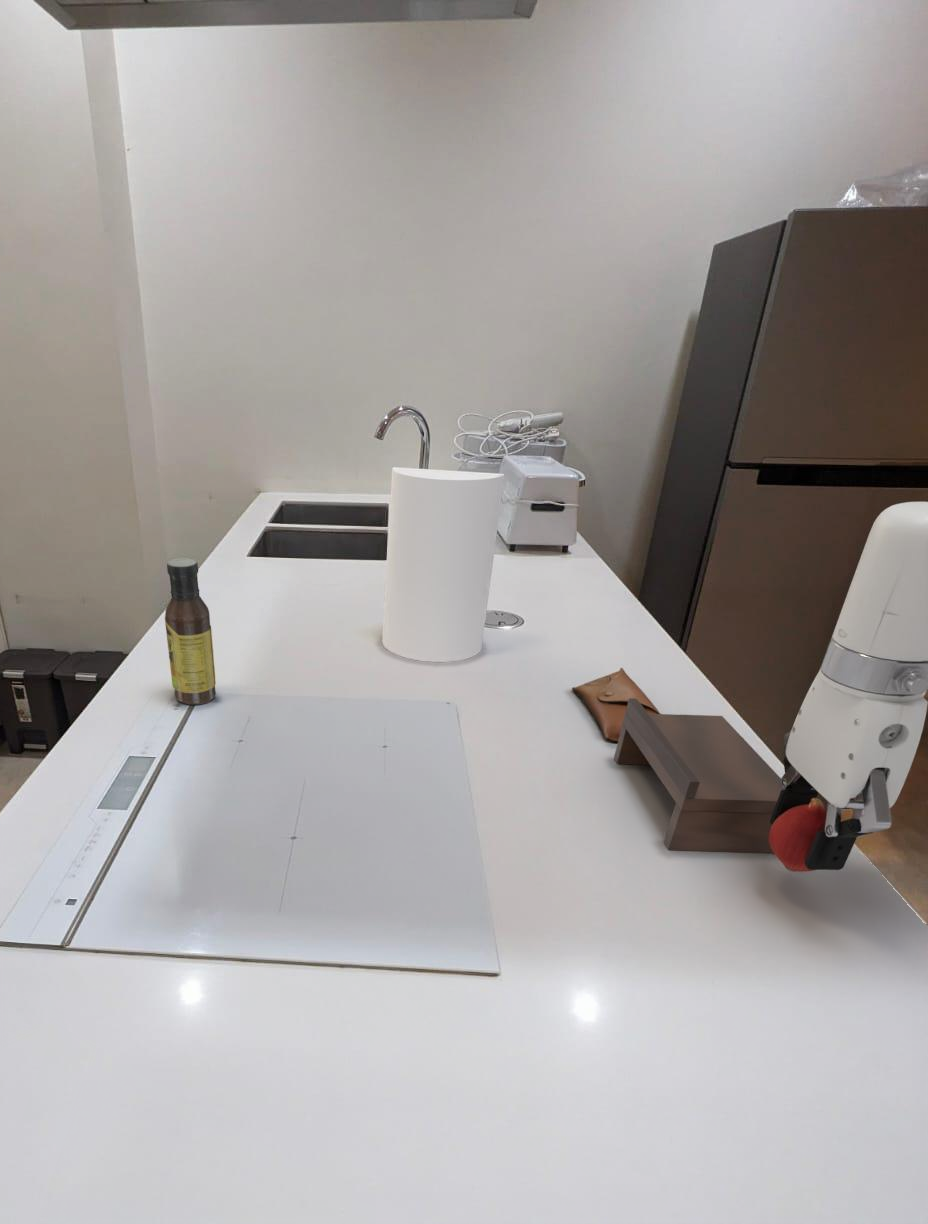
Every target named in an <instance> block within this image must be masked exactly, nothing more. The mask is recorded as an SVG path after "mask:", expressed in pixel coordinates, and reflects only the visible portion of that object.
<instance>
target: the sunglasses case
mask: <svg viewBox="0 0 928 1224" xmlns="http://www.w3.org/2000/svg"><path fill="white" fill-rule="evenodd" d="M571 691H573V692H574V693H575V694H576V695H577V696H578V697H579V699H580V700H581V701H582V702H583V704H584V706H585V707H586V708H587V710H588V711H589V713H590V714H591V716H592V718H593V720H594V721H595V723H596V725H597V726H598V728H599V729H600V731H601V733H602V735H603V736H604V738H605V739H606V740H609V741H612V742H617V743H618V740H619V736H620V732H621V728H622V724H623V720H624V716H625V712H626V708H627V704H628V700H629V698H631V699H637V700H638V701H639V702H640V704H641V705H642V706H643V708H644V709H645V710H646V712H647V713H648V714H661V713H660V711H659V710H658V709H657V707H656V706H655V704H654V703H653V702H652V701H651V700H650V698H649V697H648V696H647V694H645V693H644V691H643V690H642V689H641V688H640V687H639V686H638V685H637V684H636V682H635V681H634V680H633V679H632V678H631V677H630V676H629V675H628V674H627V673H626V671H625V670H624V668H622V667H620V668H619V670H618V671H615V672H612V673H609V674H607V675H604V676H601V677H599V678H596V679H594V680H591V681H588V682H586V683H583V684H581V685H577V686H573V687H571Z"/></svg>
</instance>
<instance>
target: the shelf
mask: <svg viewBox="0 0 928 1224" xmlns="http://www.w3.org/2000/svg"><path fill="white" fill-rule="evenodd" d="M616 744H617V745H616V748H615V751H614V756H613V760H614V761H615V763H616V764H617V765H637V766H650V767H651V769H652V770H653V771H654V772H655V774H656V776H657V777H658V779H659V780H660V781H661V783H662V785H663V786H664V787H665V789H666V790H667V792H668V794H669V795H670V796H671V798H672V800H673V801H674V802H675V805H674V808H673V811H672V815H671V817H670V821H669V823H668V827H667V830H666V833H665V836H664V839H663V843H664V845H665V846H666V848H667V850H668V851H695V852H696V851H697V852H721V853H722V852H723V853H724V852H726V853H729V852H730V853H754V854H755V853H758V854H759V853H760V854H774V853H773V851H772V849H771V847H770V843H769V834H770V830H771V826H772V825H771V824H770V819H771V817H772V814H773V811H774V809H775V806H776V803H777V800H778V798H779V795H780V792H781V790H785V789H784V788H782V787H781V783H780V782H781V778H782V777H781V776H779V774H777V772H775V771H774V769H773V768H772V767H771V766H770V765H769V764H768V763H767V762H766V761H765V760H764V759H763V758H762V756H761V755H760V754H759V753H758V752H757V751H756V750H755V749H754V748H753V747H752V745H750V744H749V742H747V741H746V739H745V738H744V737H743V736H742V735H741V734H740V733H739V732H738V731H737V730H736V729H735V728H734V727H733V726H732V725H731V724H730V722H729V721H728V720H727V719H726V718H725V717H724V716H723V715H703V714H672V713H660V714H648V713H647V712H646V710H645V709H644V708H643V706H642V705H641V704H640V702H639V701H638V700H637V699H631V698H629V700H628V704H627V708H626V712H625V716H624V720H623V724H622V728H621V732H620V736H619V740H618V742H617V743H616Z"/></svg>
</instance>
